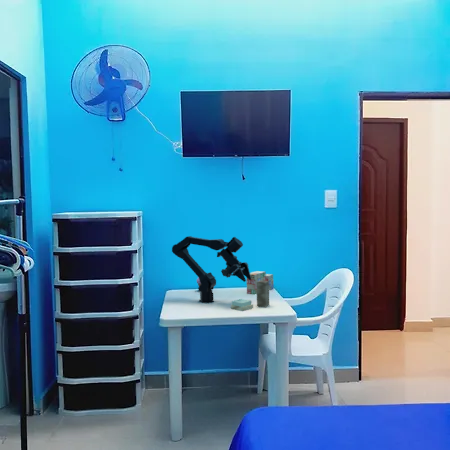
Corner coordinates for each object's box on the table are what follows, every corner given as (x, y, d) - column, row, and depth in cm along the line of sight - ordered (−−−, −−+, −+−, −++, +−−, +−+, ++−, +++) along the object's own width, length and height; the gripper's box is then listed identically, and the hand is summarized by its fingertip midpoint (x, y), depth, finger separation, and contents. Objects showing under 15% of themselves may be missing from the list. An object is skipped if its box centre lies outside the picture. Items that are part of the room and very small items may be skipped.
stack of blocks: (265, 288, 294) (264, 268, 294) (273, 289, 291) (273, 269, 290) (246, 293, 277) (246, 273, 277) (255, 294, 273) (255, 274, 273)
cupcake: (201, 289, 294) (201, 273, 294) (213, 290, 290) (213, 274, 290) (194, 291, 286) (194, 275, 286) (206, 292, 282) (206, 276, 282)
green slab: (232, 305, 238) (231, 301, 238) (241, 302, 243) (241, 298, 243) (242, 307, 233) (242, 303, 233) (251, 304, 238) (251, 300, 238)
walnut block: (257, 306, 242) (256, 281, 241) (260, 304, 246) (259, 280, 246) (266, 307, 239) (265, 282, 239) (269, 305, 244) (268, 280, 243)
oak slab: (231, 309, 238) (231, 305, 238) (241, 307, 244) (241, 302, 243) (242, 312, 232) (242, 307, 232) (253, 309, 238) (253, 304, 238)
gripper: (225, 266, 260) (242, 287, 257) (212, 269, 243) (231, 292, 239) (239, 253, 258) (257, 275, 254) (227, 255, 240) (246, 278, 236)
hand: (248, 280), depth 246 cm, fingers open, 9 cm apart
